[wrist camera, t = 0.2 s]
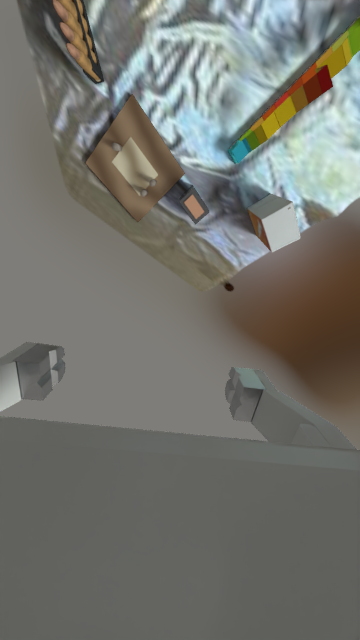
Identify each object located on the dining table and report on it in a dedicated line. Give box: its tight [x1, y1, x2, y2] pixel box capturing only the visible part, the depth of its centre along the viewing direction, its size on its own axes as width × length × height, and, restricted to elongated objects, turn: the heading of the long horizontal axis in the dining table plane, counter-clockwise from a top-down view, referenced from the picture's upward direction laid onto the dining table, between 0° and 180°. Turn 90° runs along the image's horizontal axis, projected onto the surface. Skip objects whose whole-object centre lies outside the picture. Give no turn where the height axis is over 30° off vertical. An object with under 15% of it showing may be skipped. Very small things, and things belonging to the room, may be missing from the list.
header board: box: [86, 94, 185, 222], centre depth 44 cm, size 16×16×5 cm
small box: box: [247, 194, 300, 252], centre depth 46 cm, size 8×6×13 cm
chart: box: [228, 15, 360, 163], centre depth 31 cm, size 30×3×15 cm, turn 131°
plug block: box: [179, 186, 209, 224], centre depth 47 cm, size 4×6×7 cm, turn 40°
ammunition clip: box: [53, 0, 104, 84], centre depth 30 cm, size 11×2×12 cm, turn 9°
